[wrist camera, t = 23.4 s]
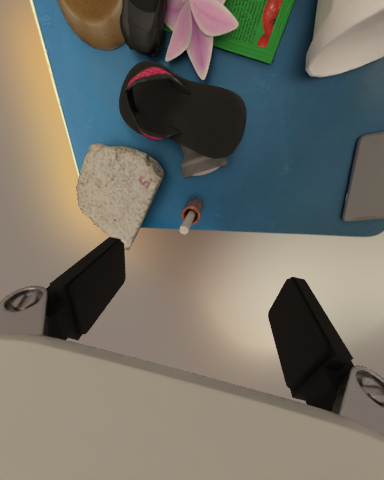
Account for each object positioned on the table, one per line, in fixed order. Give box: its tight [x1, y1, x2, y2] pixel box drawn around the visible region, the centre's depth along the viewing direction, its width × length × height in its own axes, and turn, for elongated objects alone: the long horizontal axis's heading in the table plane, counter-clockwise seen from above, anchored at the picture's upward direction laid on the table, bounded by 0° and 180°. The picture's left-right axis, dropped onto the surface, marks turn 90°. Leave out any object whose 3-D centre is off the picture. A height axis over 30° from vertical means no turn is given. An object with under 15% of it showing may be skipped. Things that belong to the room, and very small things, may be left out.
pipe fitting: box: [181, 145, 239, 178], centre depth 29 cm, size 12×8×10 cm
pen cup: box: [182, 198, 203, 224], centre depth 35 cm, size 3×4×7 cm
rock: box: [76, 143, 165, 250], centre depth 35 cm, size 20×17×10 cm
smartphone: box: [342, 131, 384, 222], centre depth 31 cm, size 8×1×15 cm
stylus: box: [179, 209, 196, 234], centre depth 32 cm, size 1×1×13 cm
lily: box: [164, 0, 238, 80], centre depth 22 cm, size 12×12×10 cm
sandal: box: [119, 61, 246, 159], centre depth 24 cm, size 9×25×6 cm
